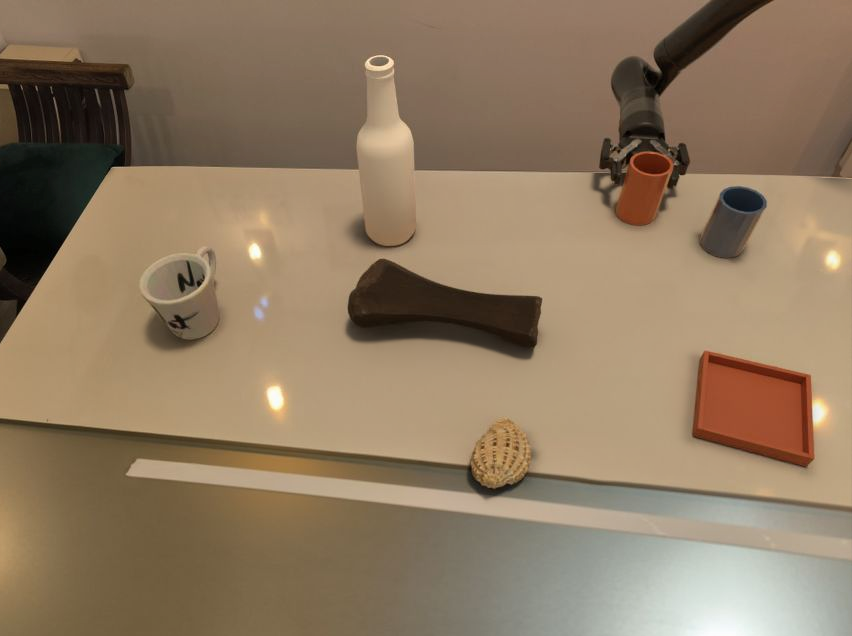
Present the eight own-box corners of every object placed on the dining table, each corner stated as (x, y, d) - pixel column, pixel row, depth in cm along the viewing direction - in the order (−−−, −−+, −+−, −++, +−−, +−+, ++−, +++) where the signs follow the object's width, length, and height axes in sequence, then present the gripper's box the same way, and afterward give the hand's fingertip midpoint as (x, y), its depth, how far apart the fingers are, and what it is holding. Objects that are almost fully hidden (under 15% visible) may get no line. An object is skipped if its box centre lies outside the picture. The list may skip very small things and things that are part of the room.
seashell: (467, 448, 82) (471, 497, 73) (468, 410, 80) (472, 456, 71) (525, 449, 82) (536, 498, 73) (528, 411, 79) (540, 458, 70)
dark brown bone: (349, 328, 95) (525, 368, 93) (340, 314, 85) (538, 358, 82) (365, 263, 97) (539, 300, 94) (358, 241, 87) (554, 282, 84)
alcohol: (367, 215, 109) (349, 47, 86) (416, 214, 108) (411, 44, 85) (364, 248, 104) (344, 79, 80) (415, 247, 103) (410, 76, 80)
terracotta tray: (803, 383, 82) (811, 374, 80) (806, 466, 75) (814, 459, 73) (699, 358, 86) (704, 350, 84) (692, 436, 78) (697, 428, 77)
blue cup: (743, 235, 100) (767, 190, 93) (742, 261, 97) (766, 217, 90) (700, 227, 102) (720, 182, 95) (698, 253, 98) (718, 208, 91)
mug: (150, 340, 94) (124, 295, 86) (196, 273, 102) (176, 228, 94) (209, 353, 91) (189, 309, 84) (251, 284, 100) (236, 238, 92)
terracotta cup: (657, 204, 106) (675, 155, 98) (653, 228, 103) (671, 179, 95) (618, 197, 108) (633, 148, 100) (612, 221, 104) (627, 171, 96)
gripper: (605, 106, 109) (605, 159, 99) (689, 111, 106) (698, 166, 97) (596, 143, 115) (595, 197, 105) (676, 148, 112) (683, 204, 103)
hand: (644, 182), depth 101 cm, fingers open, 8 cm apart
